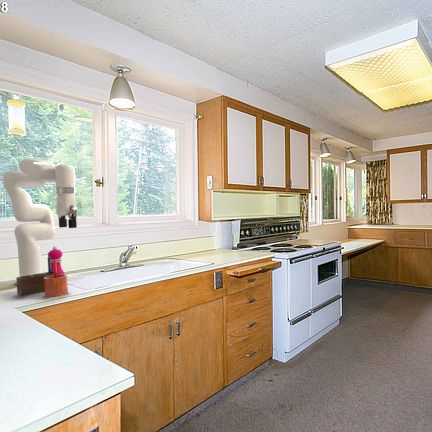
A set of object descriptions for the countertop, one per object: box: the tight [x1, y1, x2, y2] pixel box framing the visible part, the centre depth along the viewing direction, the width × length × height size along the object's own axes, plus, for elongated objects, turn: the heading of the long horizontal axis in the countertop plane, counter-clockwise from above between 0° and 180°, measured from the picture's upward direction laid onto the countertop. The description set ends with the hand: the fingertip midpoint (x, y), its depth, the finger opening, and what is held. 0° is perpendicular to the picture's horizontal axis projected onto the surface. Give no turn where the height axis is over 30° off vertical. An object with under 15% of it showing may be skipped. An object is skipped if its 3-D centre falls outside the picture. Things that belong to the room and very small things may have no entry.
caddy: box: [15, 271, 59, 297], centre depth 147 cm, size 5×15×9 cm, turn 148°
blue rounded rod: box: [47, 256, 51, 274], centre depth 151 cm, size 3×1×16 cm, turn 57°
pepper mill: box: [47, 246, 66, 274], centre depth 162 cm, size 7×7×20 cm
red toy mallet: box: [53, 260, 57, 278], centre depth 142 cm, size 3×1×16 cm, turn 58°
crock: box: [44, 273, 69, 298], centre depth 142 cm, size 8×8×9 cm
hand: (67, 227), depth 150 cm, fingers open, 9 cm apart
